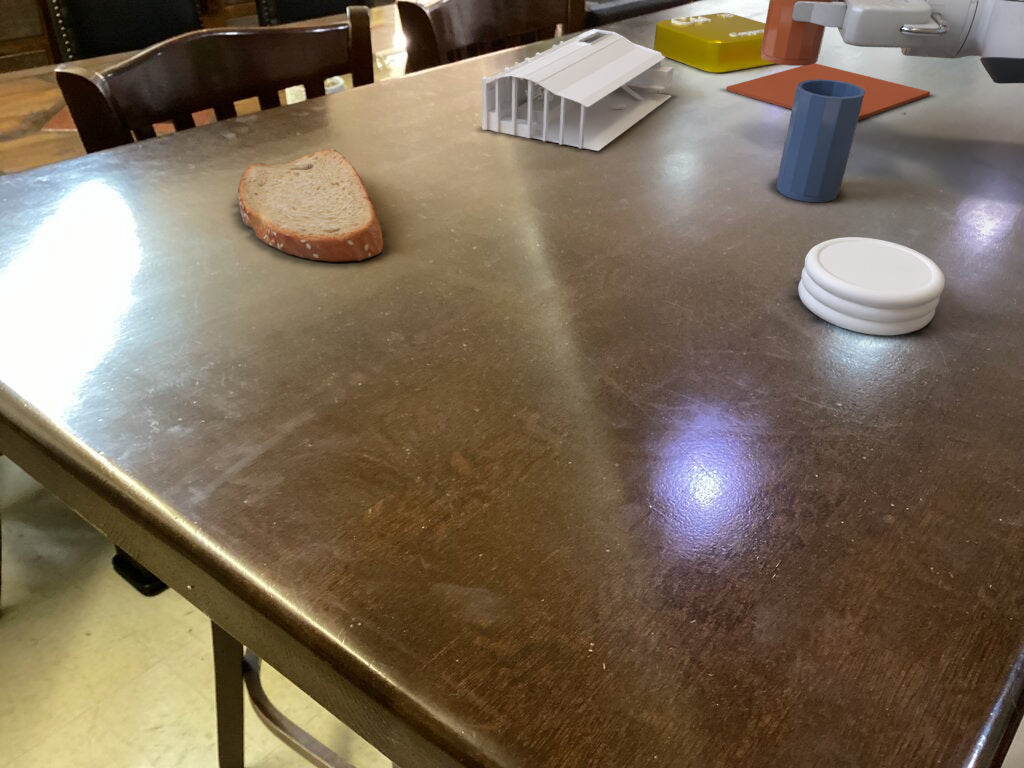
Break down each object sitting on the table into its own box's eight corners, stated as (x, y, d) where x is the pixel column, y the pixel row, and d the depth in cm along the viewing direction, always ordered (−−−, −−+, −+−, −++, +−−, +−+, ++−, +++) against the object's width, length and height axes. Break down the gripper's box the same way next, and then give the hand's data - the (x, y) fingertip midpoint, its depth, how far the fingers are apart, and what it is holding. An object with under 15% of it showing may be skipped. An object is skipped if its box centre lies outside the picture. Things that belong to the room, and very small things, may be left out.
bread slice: (365, 269, 67) (361, 227, 65) (176, 239, 71) (166, 199, 69) (443, 188, 81) (442, 151, 78) (282, 167, 85) (276, 131, 83)
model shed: (595, 153, 89) (600, 88, 85) (480, 130, 95) (479, 68, 91) (673, 95, 107) (680, 39, 103) (572, 79, 113) (575, 25, 108)
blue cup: (850, 192, 81) (878, 90, 75) (815, 207, 78) (841, 102, 72) (799, 174, 85) (821, 75, 79) (763, 188, 82) (784, 86, 76)
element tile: (713, 75, 115) (718, 39, 112) (647, 51, 125) (651, 17, 123) (789, 62, 121) (796, 27, 118) (721, 40, 132) (726, 8, 129)
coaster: (813, 262, 69) (823, 224, 67) (940, 293, 65) (955, 253, 63) (781, 314, 62) (791, 273, 60) (921, 352, 58) (937, 310, 56)
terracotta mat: (929, 95, 108) (930, 91, 108) (845, 125, 98) (846, 121, 98) (812, 66, 120) (813, 62, 119) (725, 90, 109) (726, 86, 109)
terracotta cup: (829, 59, 88) (852, -44, 82) (795, 69, 85) (817, -38, 79) (782, 48, 92) (802, -52, 86) (748, 57, 88) (766, -46, 82)
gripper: (942, 69, 76) (790, 59, 79) (906, 21, 92) (780, 14, 95) (965, -5, 73) (804, -13, 75) (923, -41, 89) (792, -46, 91)
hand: (791, 2), depth 85 cm, fingers closed on terracotta cup, 6 cm apart
